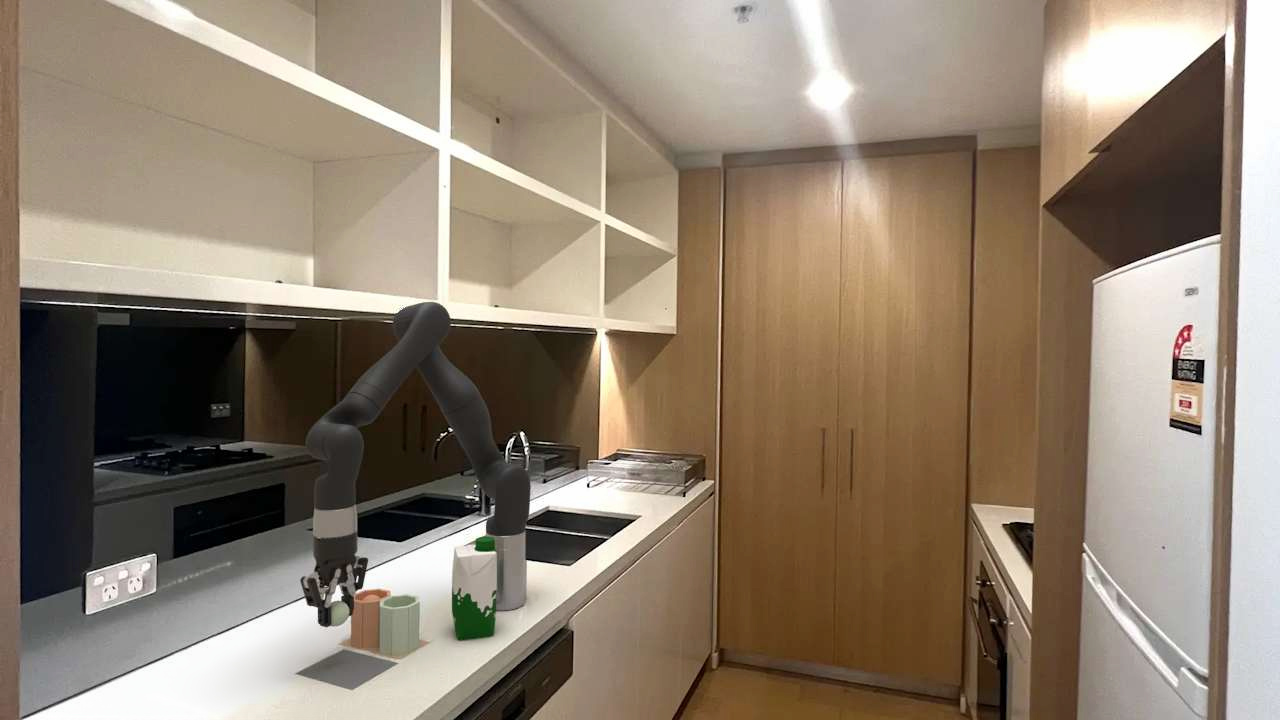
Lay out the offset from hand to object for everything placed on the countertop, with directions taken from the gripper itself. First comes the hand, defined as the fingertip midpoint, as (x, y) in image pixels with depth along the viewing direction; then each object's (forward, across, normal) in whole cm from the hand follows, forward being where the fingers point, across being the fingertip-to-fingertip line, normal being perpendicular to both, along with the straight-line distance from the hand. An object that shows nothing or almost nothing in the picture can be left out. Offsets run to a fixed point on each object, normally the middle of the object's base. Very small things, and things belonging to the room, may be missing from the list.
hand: (336, 620), depth 124 cm
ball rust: (+3, -10, -2) cm, 11 cm away
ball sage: (+1, 0, 0) cm, 1 cm away
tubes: (+9, -11, +1) cm, 14 cm away
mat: (+9, 0, +3) cm, 9 cm away
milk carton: (+10, -23, +14) cm, 28 cm away
